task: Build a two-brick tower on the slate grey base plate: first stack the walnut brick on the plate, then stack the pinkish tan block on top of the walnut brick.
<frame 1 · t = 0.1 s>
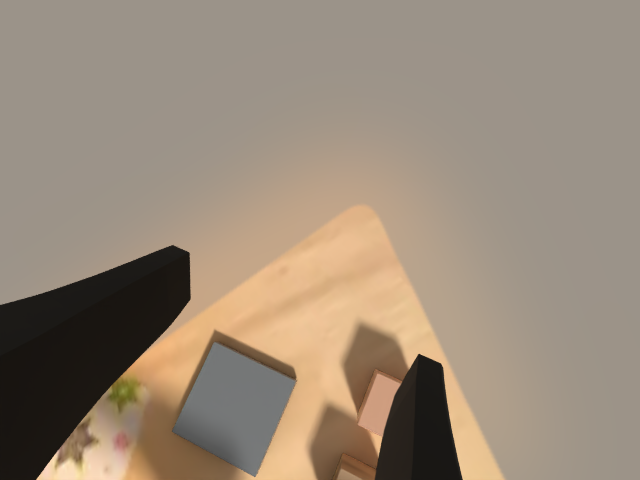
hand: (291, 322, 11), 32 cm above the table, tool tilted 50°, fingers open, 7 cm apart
pinkish tan block: (386, 400, 40), on the table
base plate: (236, 404, 41), on the table
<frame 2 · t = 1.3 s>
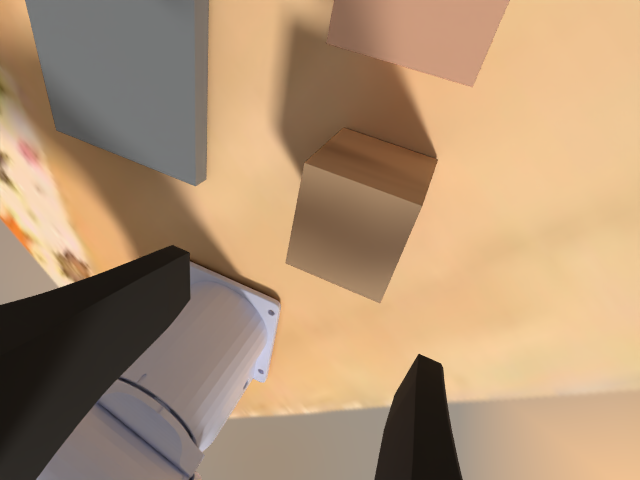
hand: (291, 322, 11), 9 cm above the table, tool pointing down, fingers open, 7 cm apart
base plate: (126, 64, 20), on the table
walnut brick: (374, 190, 18), on the table
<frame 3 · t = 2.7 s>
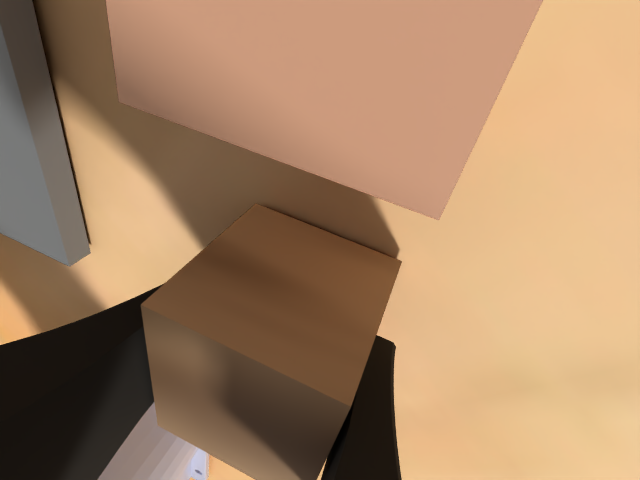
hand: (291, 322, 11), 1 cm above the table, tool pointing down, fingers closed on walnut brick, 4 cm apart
walnut brick: (310, 292, 12), on the table, touching gripper
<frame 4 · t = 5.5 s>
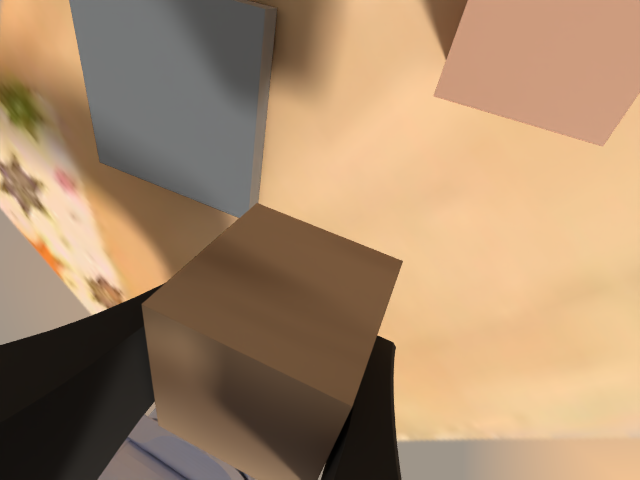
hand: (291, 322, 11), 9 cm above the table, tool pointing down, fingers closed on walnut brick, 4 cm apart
pinkish tan block: (547, 7, 12), on the table
base plate: (178, 97, 19), on the table
walnut brick: (311, 292, 12), point 7 cm above the table, touching gripper
when the fingers open (3 cm above the table, at t = 8.2 s): walnut brick stays where it is, resting on base plate.
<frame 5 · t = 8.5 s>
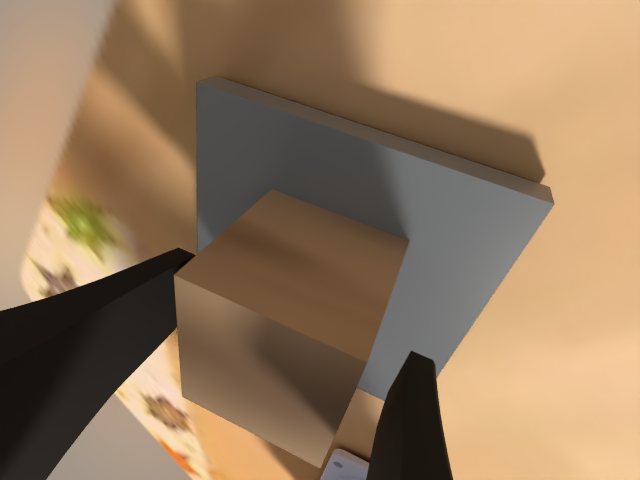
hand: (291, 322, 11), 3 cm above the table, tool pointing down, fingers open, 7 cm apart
base plate: (331, 258, 14), on the table
walnut brick: (322, 274, 13), point 1 cm above the table, touching base plate
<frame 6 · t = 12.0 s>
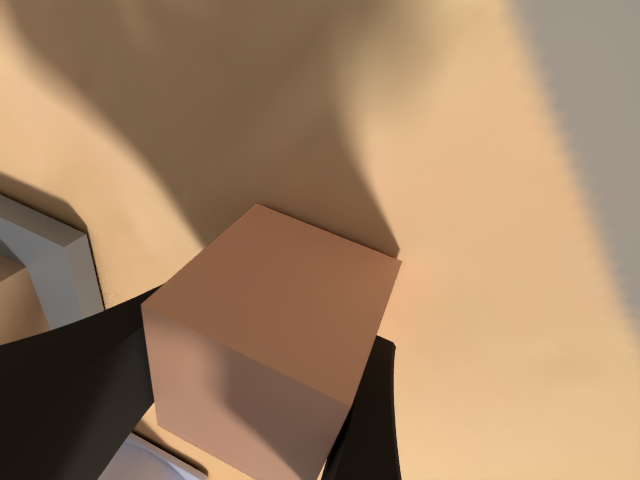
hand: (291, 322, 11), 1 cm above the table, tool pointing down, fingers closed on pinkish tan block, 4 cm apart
pinkish tan block: (310, 292, 12), on the table, touching gripper
base plate: (25, 275, 19), on the table
walnut brick: (5, 287, 18), point 1 cm above the table, touching base plate
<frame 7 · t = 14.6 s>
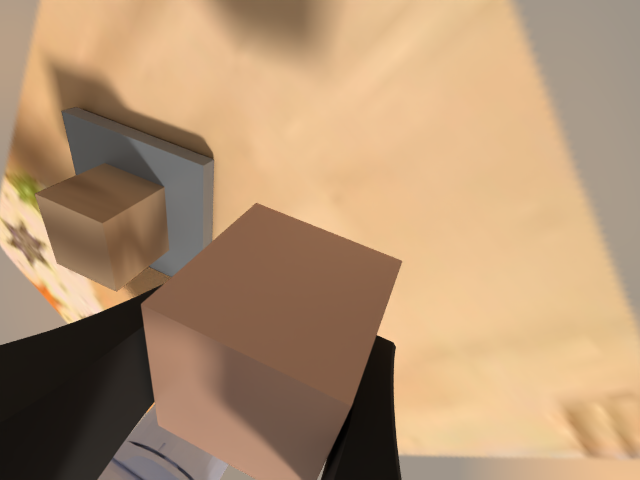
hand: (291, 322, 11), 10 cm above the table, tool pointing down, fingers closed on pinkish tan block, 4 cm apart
pinkish tan block: (310, 292, 12), point 8 cm above the table, touching gripper
base plate: (149, 202, 25), on the table
walnut brick: (138, 208, 25), point 1 cm above the table, touching base plate
when the fingers open (8 cm above the table, at t = 17.0 s): pinkish tan block stays where it is, resting on walnut brick.
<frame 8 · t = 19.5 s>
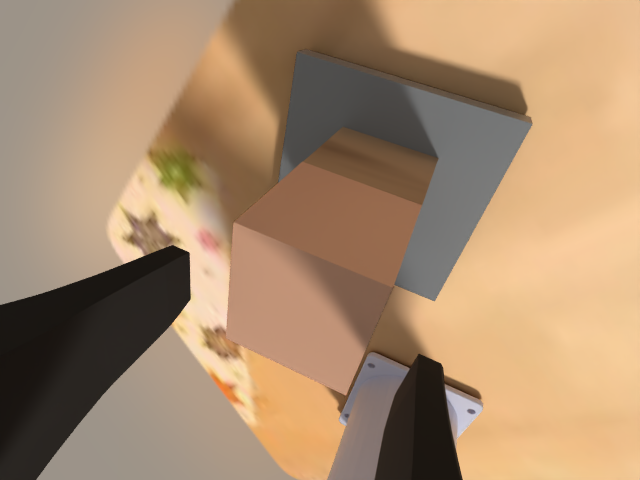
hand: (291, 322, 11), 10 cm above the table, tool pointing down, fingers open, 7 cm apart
pinkish tan block: (344, 238, 15), point 6 cm above the table, touching walnut brick
base plate: (378, 182, 19), on the table
walnut brick: (374, 190, 18), point 1 cm above the table, touching base plate, pinkish tan block
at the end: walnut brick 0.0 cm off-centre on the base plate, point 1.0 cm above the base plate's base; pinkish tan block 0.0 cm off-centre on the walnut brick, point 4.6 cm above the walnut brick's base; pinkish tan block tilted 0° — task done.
